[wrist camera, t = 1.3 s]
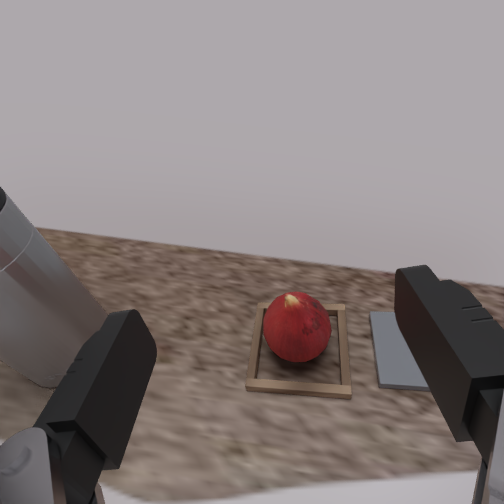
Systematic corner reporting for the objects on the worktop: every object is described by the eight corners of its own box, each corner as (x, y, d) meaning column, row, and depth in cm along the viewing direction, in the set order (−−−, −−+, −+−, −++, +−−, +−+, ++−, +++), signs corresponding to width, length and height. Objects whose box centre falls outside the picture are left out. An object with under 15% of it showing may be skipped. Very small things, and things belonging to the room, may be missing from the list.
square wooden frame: (247, 390, 28) (245, 386, 27) (259, 307, 34) (257, 302, 33) (350, 399, 26) (351, 394, 25) (344, 309, 32) (344, 304, 31)
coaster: (379, 387, 26) (380, 383, 26) (369, 316, 31) (369, 311, 31) (473, 394, 25) (476, 390, 24) (447, 318, 30) (450, 313, 29)
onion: (324, 318, 32) (324, 265, 26) (335, 374, 28) (338, 325, 22) (267, 324, 32) (255, 273, 27) (270, 379, 28) (256, 332, 23)
